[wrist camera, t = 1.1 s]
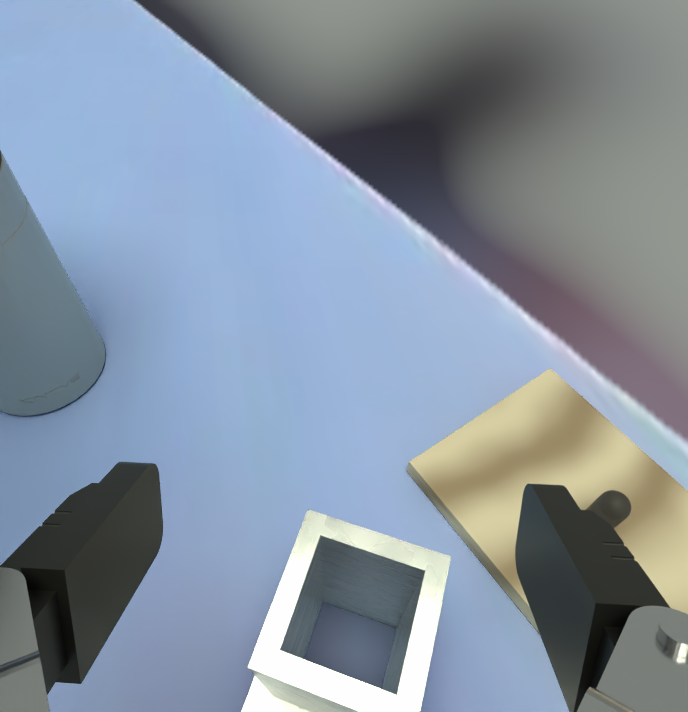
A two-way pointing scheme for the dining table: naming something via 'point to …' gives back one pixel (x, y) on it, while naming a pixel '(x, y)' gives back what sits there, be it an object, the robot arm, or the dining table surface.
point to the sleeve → (358, 595)
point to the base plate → (555, 483)
